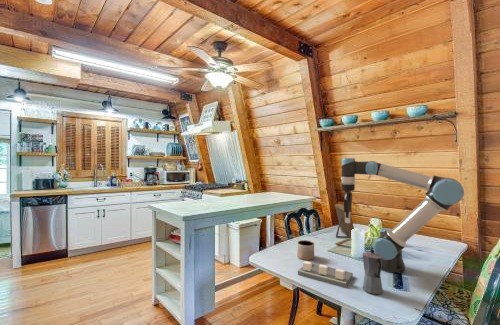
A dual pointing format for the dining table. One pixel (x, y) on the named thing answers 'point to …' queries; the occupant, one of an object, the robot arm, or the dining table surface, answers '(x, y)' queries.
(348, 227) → the photo frame
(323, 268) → the block
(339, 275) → the block
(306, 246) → the planter
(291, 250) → the dining table surface
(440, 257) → the dining table surface
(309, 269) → the block
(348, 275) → the switch board
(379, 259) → the moka pot
